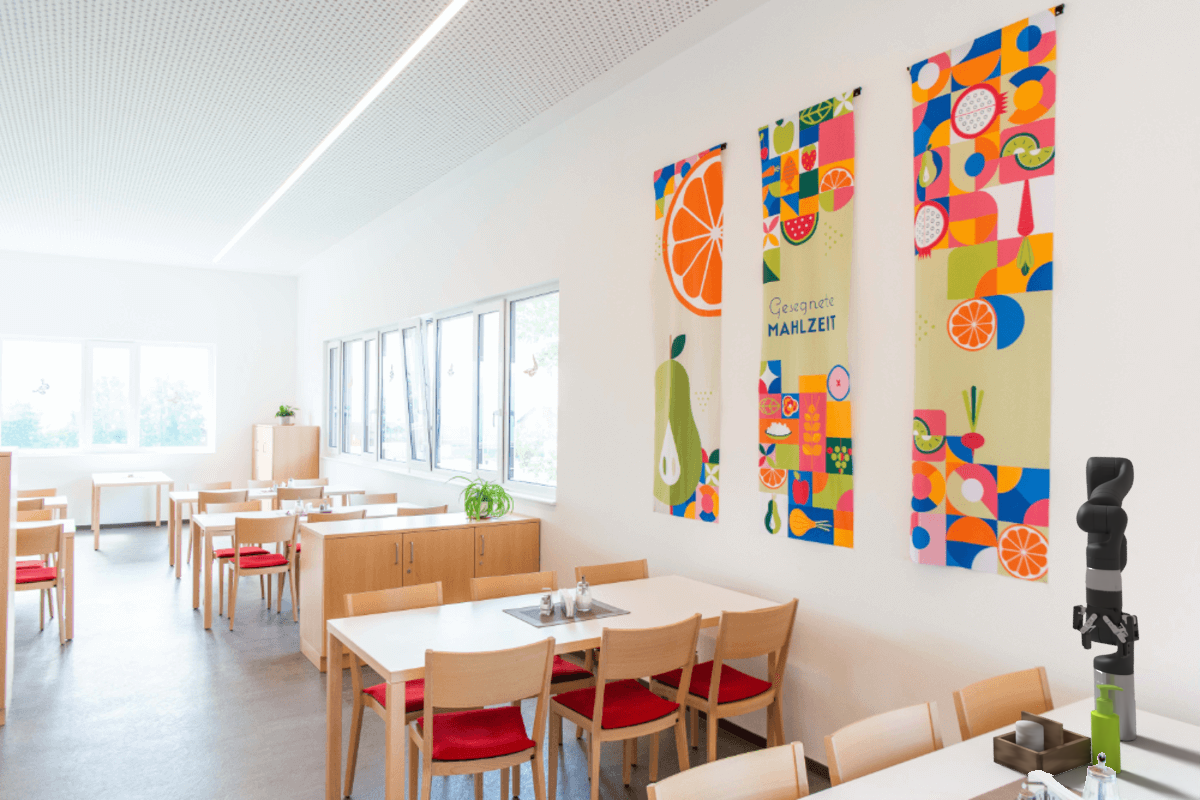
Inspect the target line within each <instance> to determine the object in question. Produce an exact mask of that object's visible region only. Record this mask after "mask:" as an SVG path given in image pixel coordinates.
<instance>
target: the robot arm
mask: <svg viewBox="0 0 1200 800" xmlns="http://www.w3.org/2000/svg"><path fill="white" fill-rule="evenodd" d="M1134 479H1135V470H1134V465H1133V462H1132V461H1131V460H1130V458H1129V459H1128V458H1127V457H1118V456H1116V457H1115V456H1090V457H1089V458H1088V459H1087V460H1086V465H1085V480H1086V481H1085V482H1086V483H1085V484H1086V497H1087V499H1086V500H1087V501H1085V502H1084V503H1083V504H1081V505H1080V507H1079V508H1078V511H1077V512H1076V517H1075V519H1076V524H1077V526H1078V528H1079V529H1080V530H1081V531H1082V532H1084V533H1087V539H1086V541H1087V543H1086V545H1087V546H1086V547H1085V559H1086V560H1085V561H1086V569H1085V570H1086V571H1085V581H1084V582H1085V603H1086V606H1083V605H1082V604H1077V605H1074V606H1073V608H1072V609H1073V610H1072V629H1074V630H1077V631H1078V632H1080V635H1081V646H1082V647H1083V649H1084V650H1087V651H1088V650H1092V642H1093V643H1099V644H1103V645H1109V646H1115V647H1117V648H1116V651H1115V652H1112V653H1107V654H1099V655H1097V656H1094V658H1093V661H1092V662H1093V663H1092V664H1093V666H1092V667H1093V695H1094V697H1093V699H1094V710H1097V705H1096V698H1098V697H1100V689H1098V688H1097V687H1096V685H1114V686H1118V687H1120V688H1122V689H1123V691H1119V690H1108V697H1109V698H1110V699H1111V700H1112V701H1113V713H1115V714H1117V715H1119V722H1120V741H1128V742H1129V741H1134V740H1136V738H1137V711H1136V710H1137V709H1136V707H1137V705H1136V698H1135V697H1136V695H1135V693H1136V692H1135V691H1136V690H1135V669H1134V668H1135V642H1137V641H1139V640H1140V632H1139V631H1140V630H1139V623H1138V617H1137V615H1135V614H1132V615H1131V614H1130V613H1128V612H1123V607H1124V606H1123V603H1124V602H1123V578H1122V573H1123V571H1124V570H1125V568H1126V566H1127V564H1128V540H1127V537H1126V534H1125V532H1126V529H1127V526H1128V521H1129V517H1128V514H1127V512H1126V511H1125V509H1124V508H1123V507H1122V506H1123V501H1124V499H1125V497H1127V495H1128V494H1129V493H1130V491H1131V489H1132V487H1133V485H1134ZM1084 615H1085V623H1084Z"/></svg>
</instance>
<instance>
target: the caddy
mask: <svg viewBox="0 0 1200 800" xmlns="http://www.w3.org/2000/svg"><path fill="white" fill-rule="evenodd" d="M1020 716H1021V717H1020V719H1021V720H1016V722H1015V730H1013V731H1010V732H1006V733H1002V734H999V735H996V736H993V737H992V743H993V744H992V751H993V752H992V753H993V754H992V755H993V762H994V763H995V764H998V765H1000V766H1003V767H1006V768H1007V769H1010V770H1013V771H1016V772H1019V773H1021V774H1023V775H1025V774H1026V775H1025V776H1028V775H1027V774H1028V773H1029V772H1031V771H1035V770H1042V771H1044V772H1046V773H1050V774H1052V775H1054V776H1053V777H1056V776H1058V774H1059V775H1061V774H1064V773H1067V772H1069V770H1070V771H1072V770H1074V768H1075V769H1077V767H1078V768H1080V766H1081V767H1083V766H1086V765H1088V763H1089V764H1091V763H1090V762H1092V741H1091V736H1087V735H1083V734H1080V733H1077V732H1075V731H1071V730H1068V729H1066V728H1064V723H1062V722H1060V721H1056V720H1054V719H1050V718H1047V717H1044V716H1041V715H1038V714H1036V713H1035V714H1034V713H1032V712H1029V711H1026V710H1021V711H1020ZM1071 769H1072V770H1071ZM1066 771H1067V772H1066ZM1063 772H1064V773H1063ZM1060 773H1061V774H1060ZM1055 775H1056V776H1055Z"/></svg>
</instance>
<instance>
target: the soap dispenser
mask: <svg viewBox="0 0 1200 800" xmlns="http://www.w3.org/2000/svg"><path fill="white" fill-rule="evenodd" d="M1096 687H1097V688H1098V689H1100V697H1098V698H1096V705H1097V710H1095V709H1093V710H1091V711H1090V731H1091V733H1090V738H1091V753H1092V763H1091V766H1092V765H1096V764H1098V760H1097V756H1098V754H1099V753H1101V752H1103V753H1105V755H1106V763H1105V766H1107V767H1110V768H1112V769H1113V770H1114V771H1116V773H1117V774H1120V773H1121V771H1122V763H1121V761H1122V760H1121V759H1122V757H1121V740H1120V722H1119V715H1117V714H1115V713H1113V701H1112V700H1111V699H1110V698H1109V697H1108V690H1119V691H1123V689H1122V688H1120V687H1118V686H1114V685H1096ZM1117 774H1116V775H1117Z"/></svg>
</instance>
